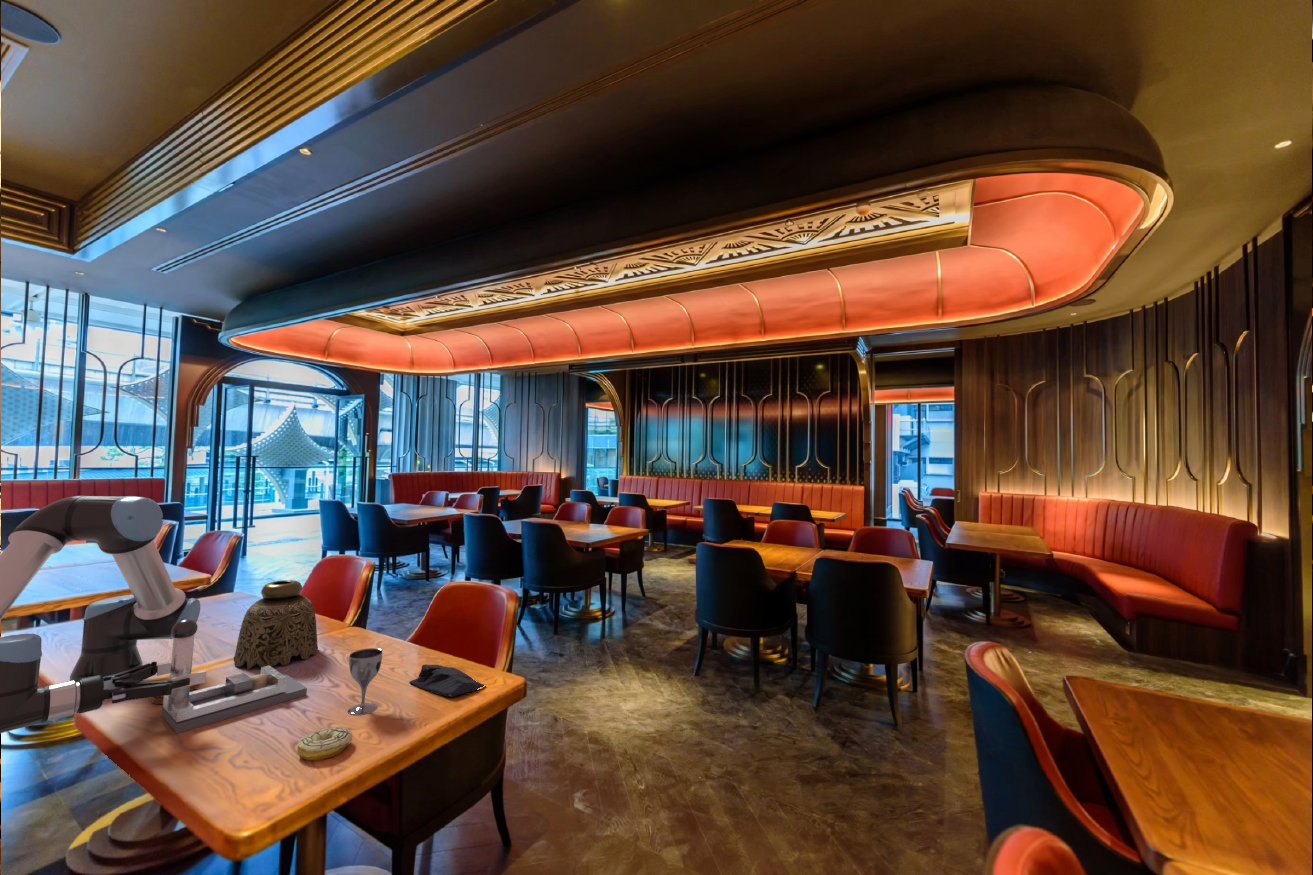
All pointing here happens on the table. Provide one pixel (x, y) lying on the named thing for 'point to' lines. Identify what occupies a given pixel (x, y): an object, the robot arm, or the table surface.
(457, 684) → the black crumpled cloth
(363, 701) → the wine glass
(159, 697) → the burger
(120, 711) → the table surface
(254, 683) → the nut
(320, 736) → the decorated donut
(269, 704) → the press bench
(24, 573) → the robot arm
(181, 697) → the press ram
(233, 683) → the grey rectangular block
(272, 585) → the lamp shade
